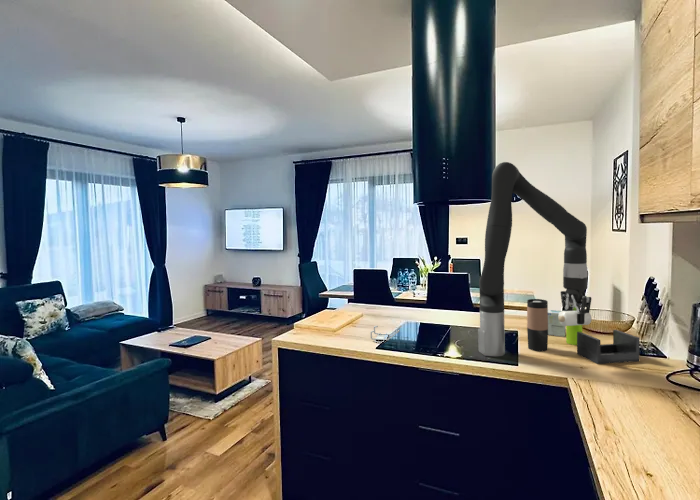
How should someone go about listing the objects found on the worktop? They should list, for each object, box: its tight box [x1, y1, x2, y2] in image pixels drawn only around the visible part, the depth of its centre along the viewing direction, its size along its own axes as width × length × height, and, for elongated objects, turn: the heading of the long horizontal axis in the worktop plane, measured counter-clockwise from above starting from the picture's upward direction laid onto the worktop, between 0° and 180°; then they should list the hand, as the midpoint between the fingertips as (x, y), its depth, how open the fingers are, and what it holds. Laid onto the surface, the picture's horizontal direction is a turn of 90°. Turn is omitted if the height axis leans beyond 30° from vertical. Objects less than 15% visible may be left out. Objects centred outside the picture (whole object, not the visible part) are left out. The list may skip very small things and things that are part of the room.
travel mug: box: [526, 298, 549, 352], centre depth 154 cm, size 8×8×20 cm
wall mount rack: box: [370, 324, 402, 344], centre depth 176 cm, size 16×14×6 cm
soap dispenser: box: [565, 305, 583, 346], centre depth 159 cm, size 6×7×20 cm
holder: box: [576, 329, 640, 365], centre depth 142 cm, size 16×11×9 cm
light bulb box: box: [548, 309, 566, 338], centre depth 175 cm, size 11×7×11 cm, turn 58°
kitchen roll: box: [558, 310, 592, 326], centre depth 136 cm, size 11×5×5 cm
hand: (575, 321), depth 136 cm, fingers closed on kitchen roll, 5 cm apart
